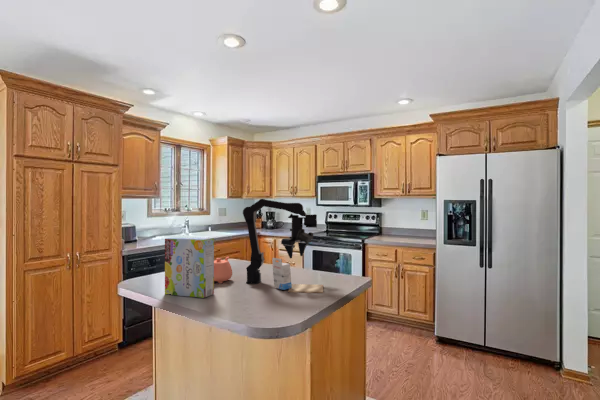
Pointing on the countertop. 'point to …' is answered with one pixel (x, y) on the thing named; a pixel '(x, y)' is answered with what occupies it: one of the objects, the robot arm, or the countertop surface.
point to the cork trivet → (306, 288)
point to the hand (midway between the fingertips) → (296, 257)
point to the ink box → (281, 274)
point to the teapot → (222, 270)
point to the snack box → (189, 266)
